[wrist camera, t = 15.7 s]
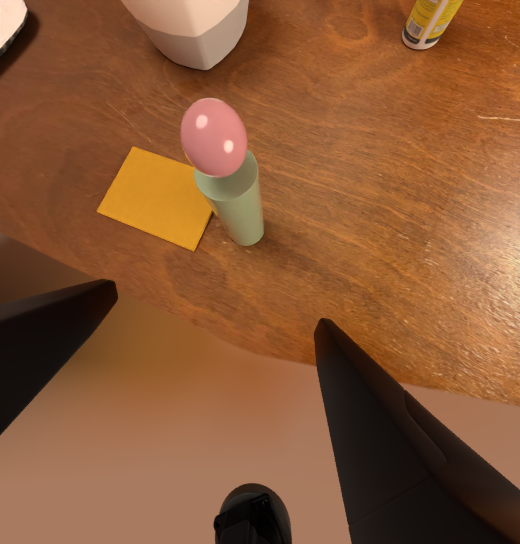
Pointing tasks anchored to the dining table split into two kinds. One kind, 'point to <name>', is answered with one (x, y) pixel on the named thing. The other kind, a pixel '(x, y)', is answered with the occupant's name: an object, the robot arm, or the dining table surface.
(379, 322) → the dining table surface
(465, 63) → the dining table surface
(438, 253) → the dining table surface
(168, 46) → the bowl
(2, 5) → the plate
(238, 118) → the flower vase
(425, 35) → the supplement bottle
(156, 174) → the cloth
